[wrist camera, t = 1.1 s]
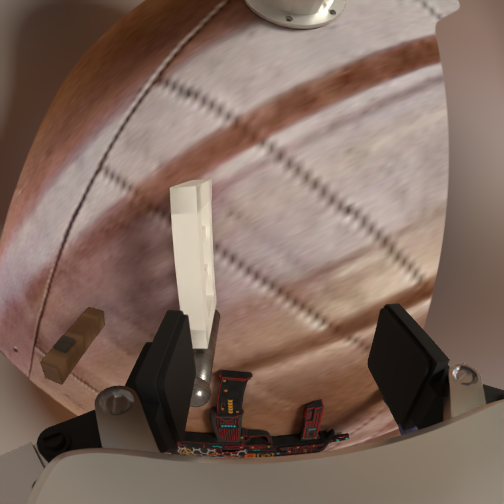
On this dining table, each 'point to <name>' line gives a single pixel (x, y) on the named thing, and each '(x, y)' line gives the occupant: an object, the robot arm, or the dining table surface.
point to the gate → (194, 256)
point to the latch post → (72, 345)
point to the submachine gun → (243, 441)
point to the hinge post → (204, 367)
